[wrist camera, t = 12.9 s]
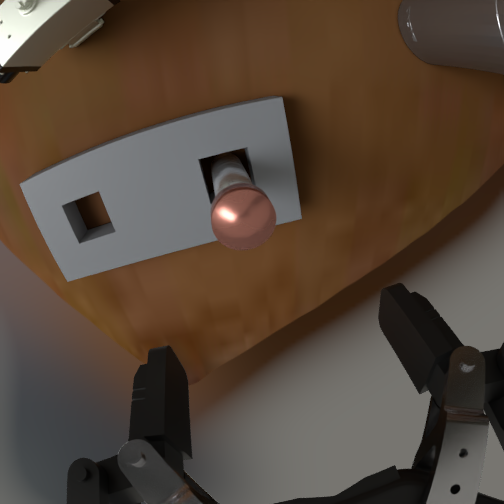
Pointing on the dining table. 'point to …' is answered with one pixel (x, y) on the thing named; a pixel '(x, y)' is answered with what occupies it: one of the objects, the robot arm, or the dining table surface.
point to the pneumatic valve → (44, 30)
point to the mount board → (159, 186)
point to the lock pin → (239, 206)
